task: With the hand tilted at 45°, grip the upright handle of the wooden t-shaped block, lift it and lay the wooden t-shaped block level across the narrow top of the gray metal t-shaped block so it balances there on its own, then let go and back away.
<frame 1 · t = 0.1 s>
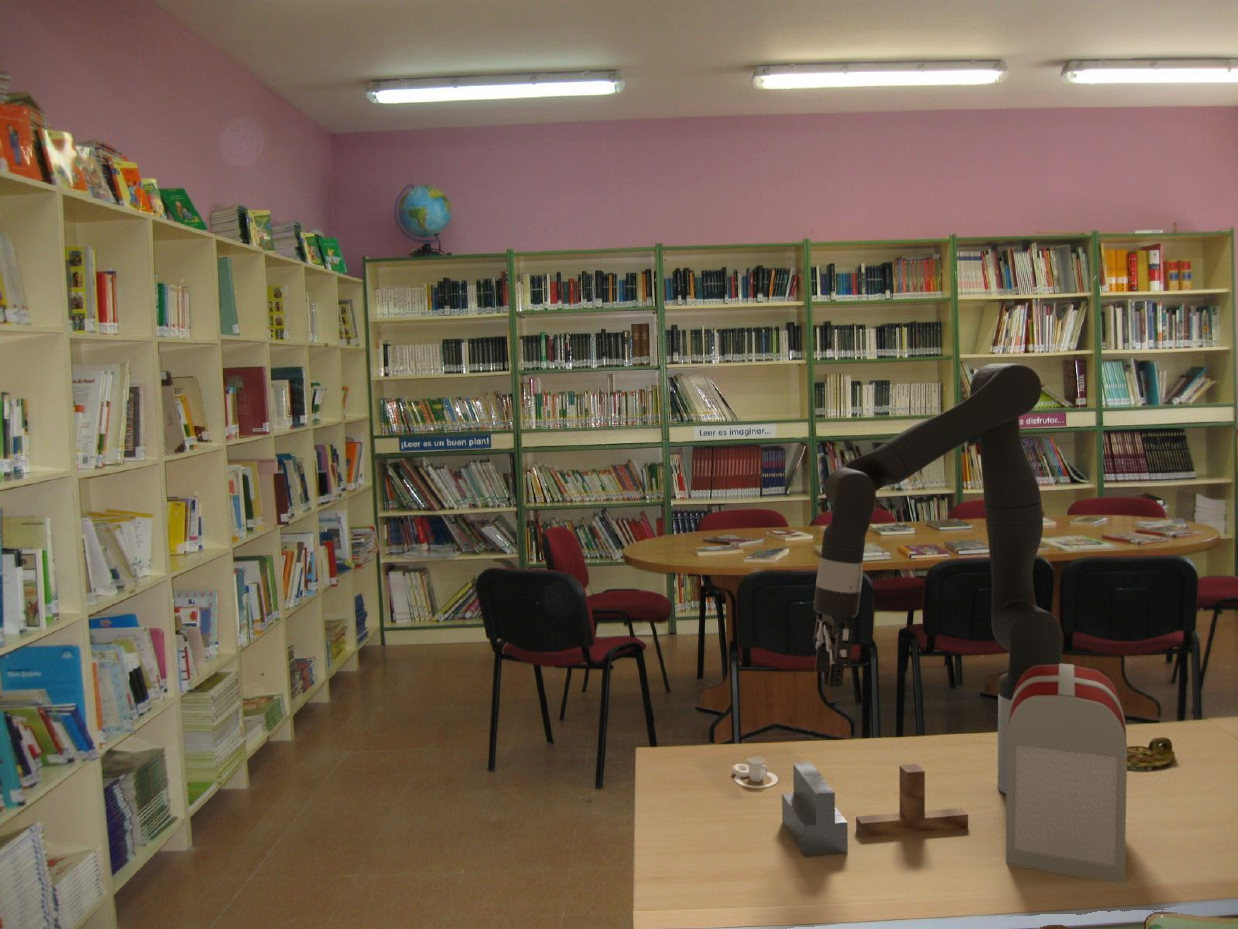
hand: (827, 679, 171), 22 cm above the table, tool pointing down, fingers open, 8 cm apart
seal: (1137, 763, 188), on the table
gray metal t-shaped block: (813, 837, 161), on the table
teacup and saucer: (759, 776, 187), on the table
red-striped tombstone block: (1064, 848, 156), on the table
wooden t-shaped block: (912, 830, 163), on the table
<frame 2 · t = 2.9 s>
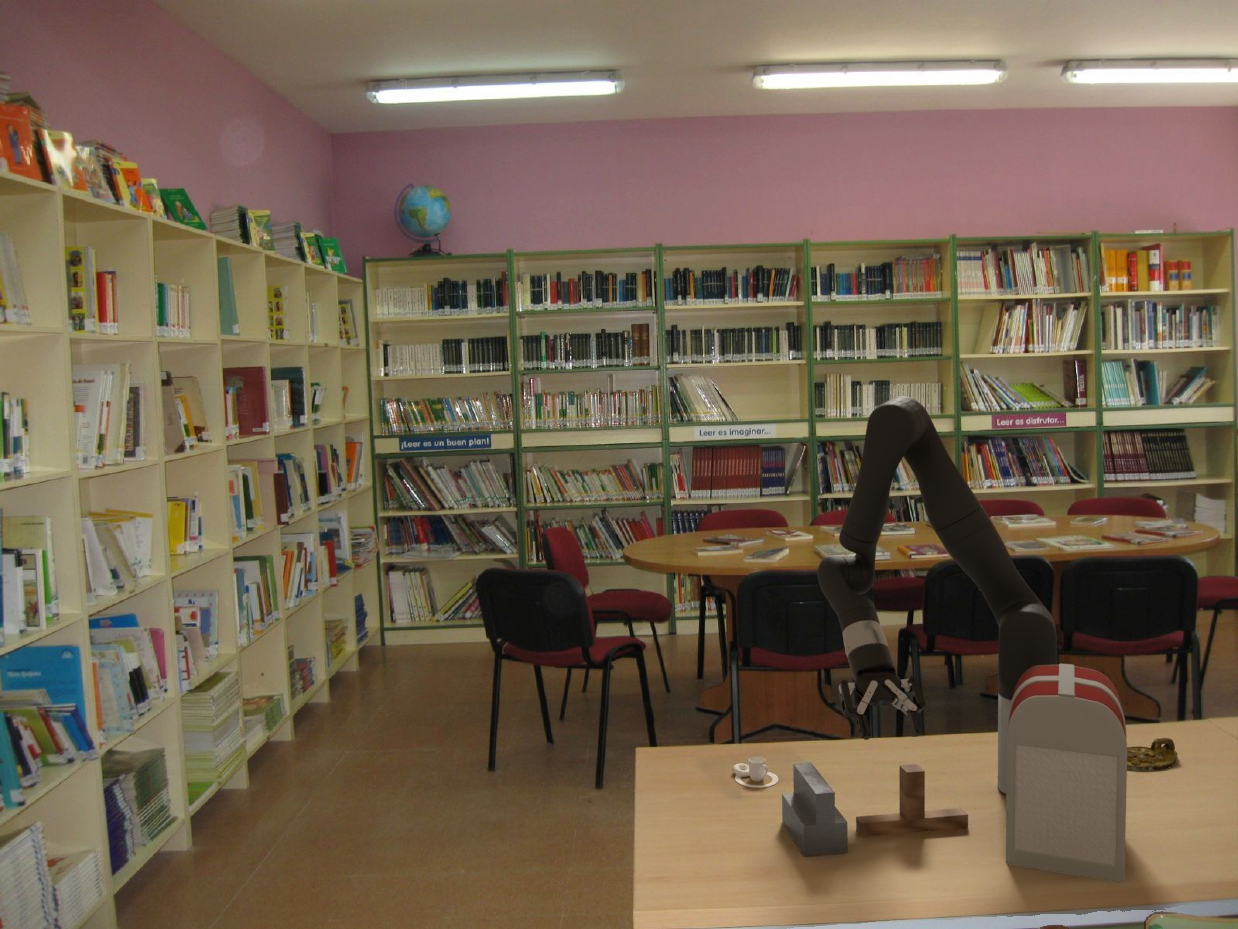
hand: (892, 736, 170), 13 cm above the table, tool tilted 45°, fingers open, 8 cm apart
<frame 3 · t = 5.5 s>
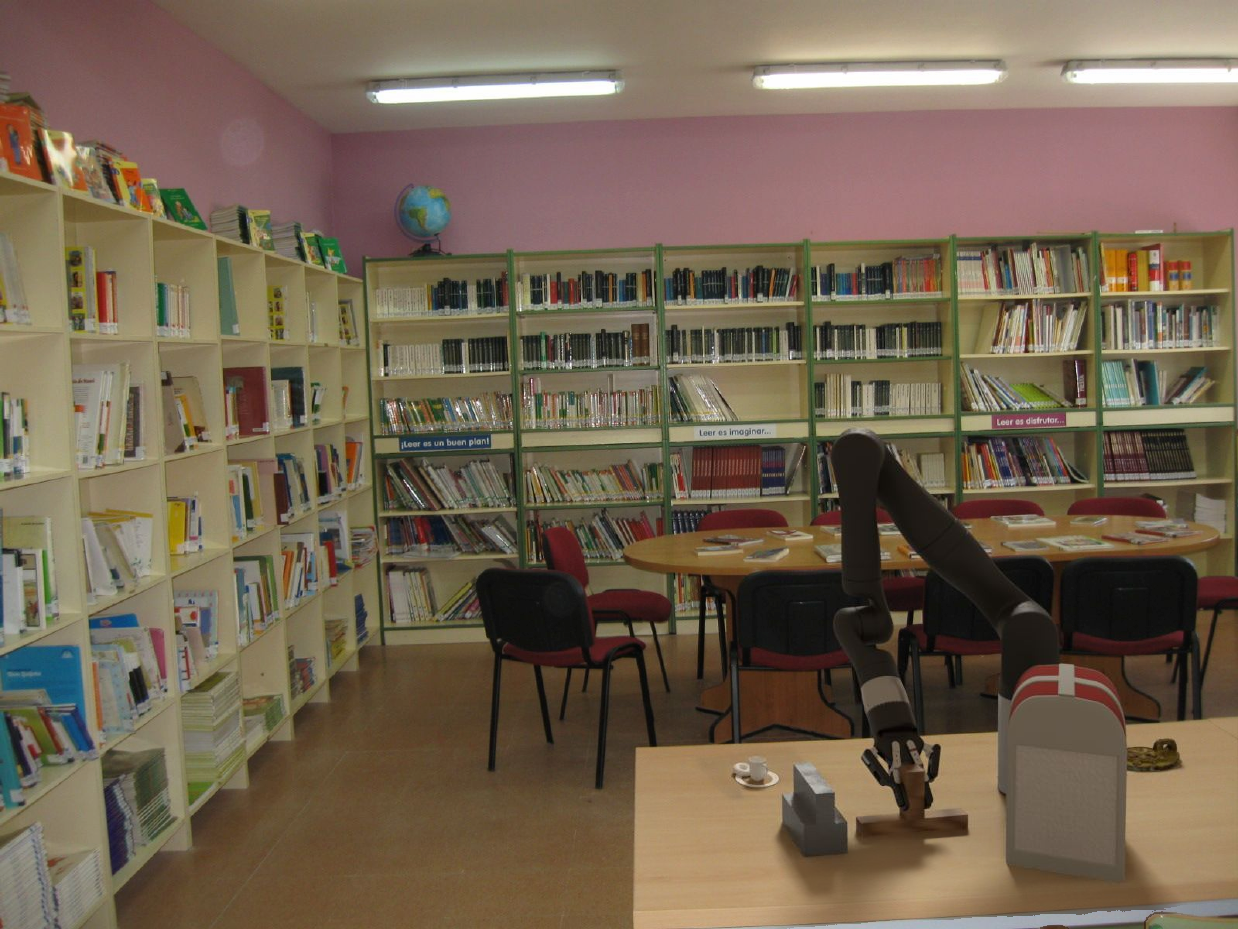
hand: (917, 807, 161), 4 cm above the table, tool tilted 45°, fingers closed on wooden t-shaped block, 3 cm apart
wooden t-shaped block: (911, 830, 163), on the table, touching gripper
everything else where it was.
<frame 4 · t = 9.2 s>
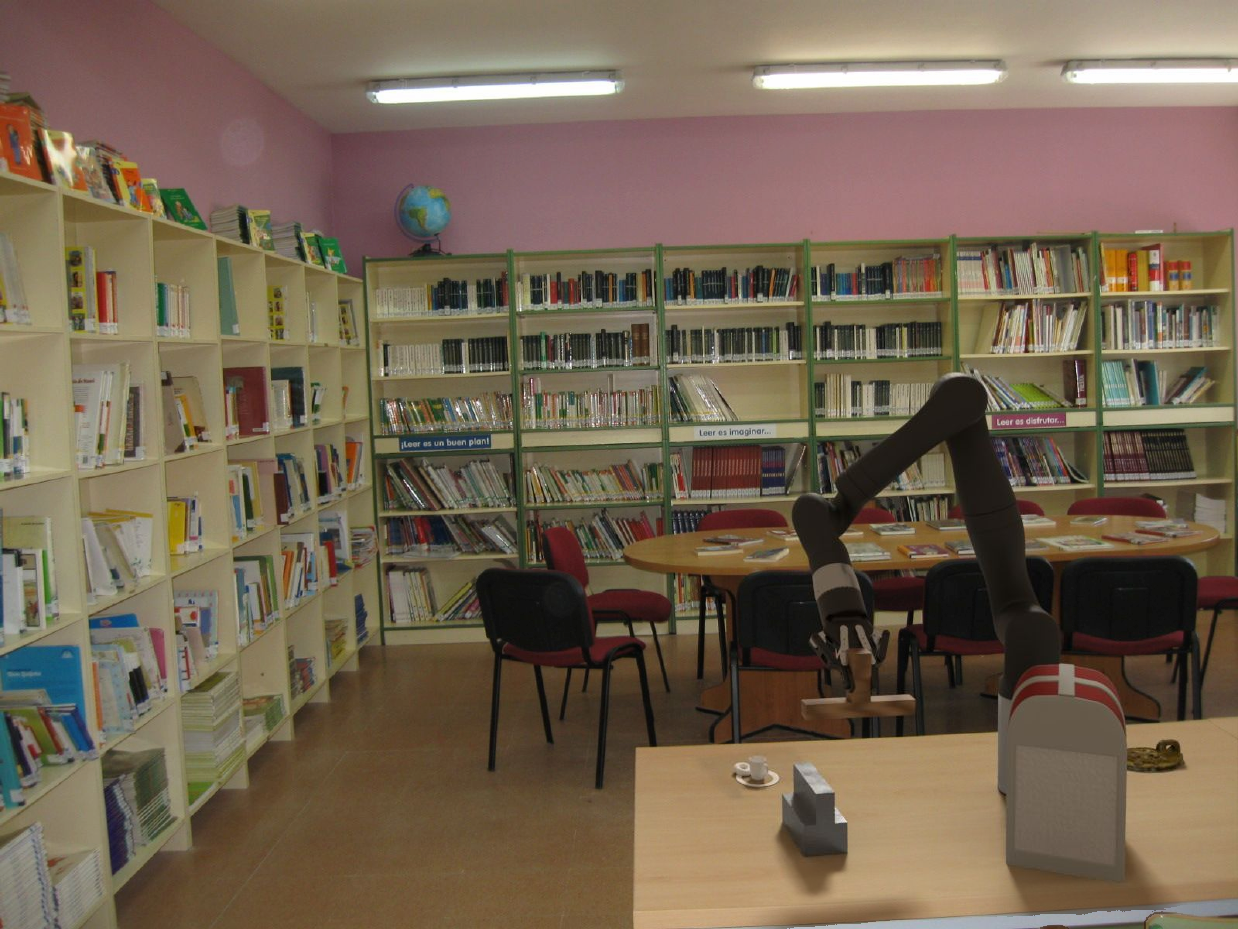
hand: (863, 689, 158), 24 cm above the table, tool tilted 45°, fingers closed on wooden t-shaped block, 3 cm apart
wooden t-shaped block: (858, 714, 161), point 20 cm above the table, touching gripper
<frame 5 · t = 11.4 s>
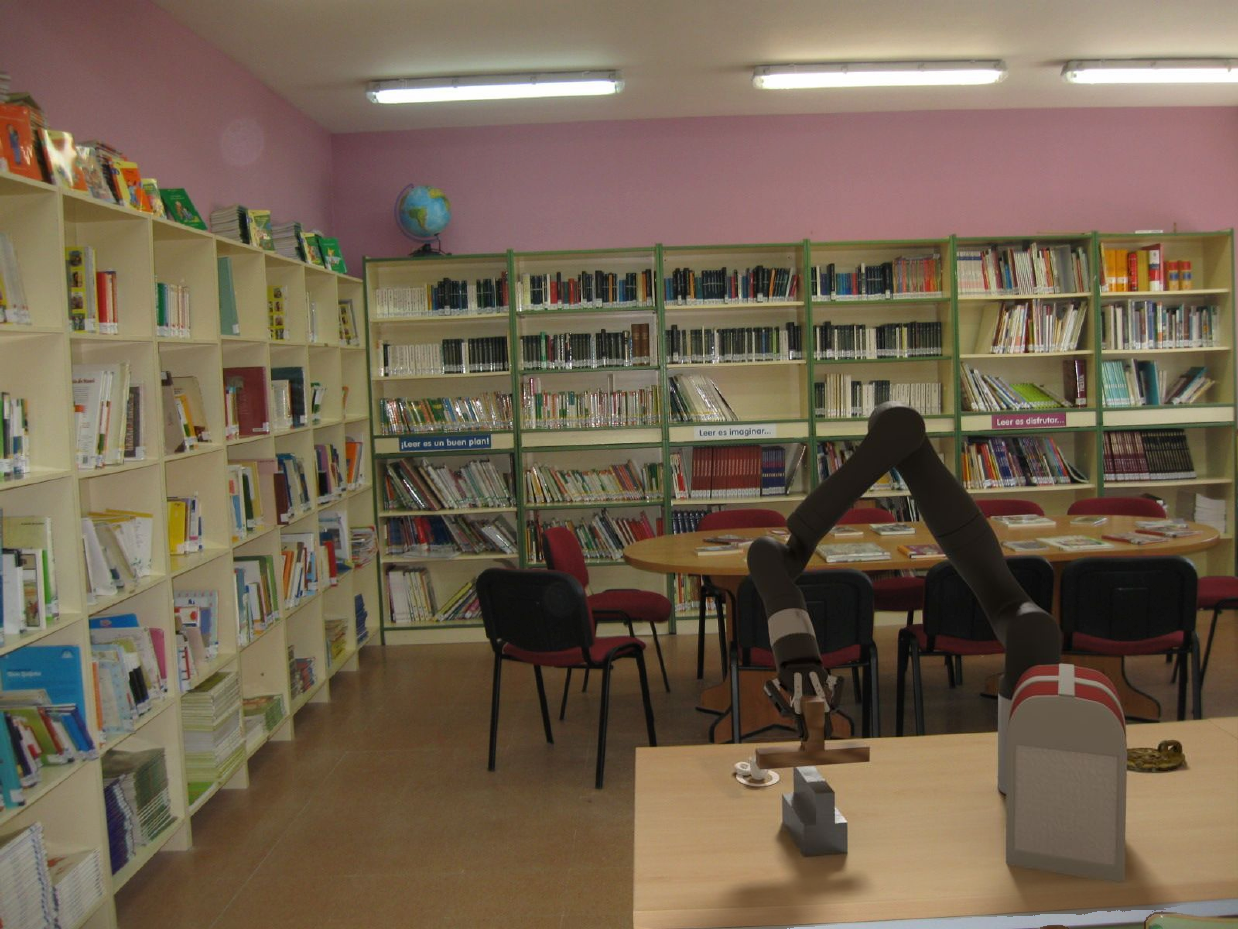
hand: (816, 738, 158), 17 cm above the table, tool tilted 45°, fingers closed on wooden t-shaped block, 3 cm apart
wooden t-shaped block: (812, 762, 160), point 12 cm above the table, touching gripper
when the fingers open (15 cm above the table, at t = 12.9 s): wooden t-shaped block stays where it is, resting on gray metal t-shaped block.
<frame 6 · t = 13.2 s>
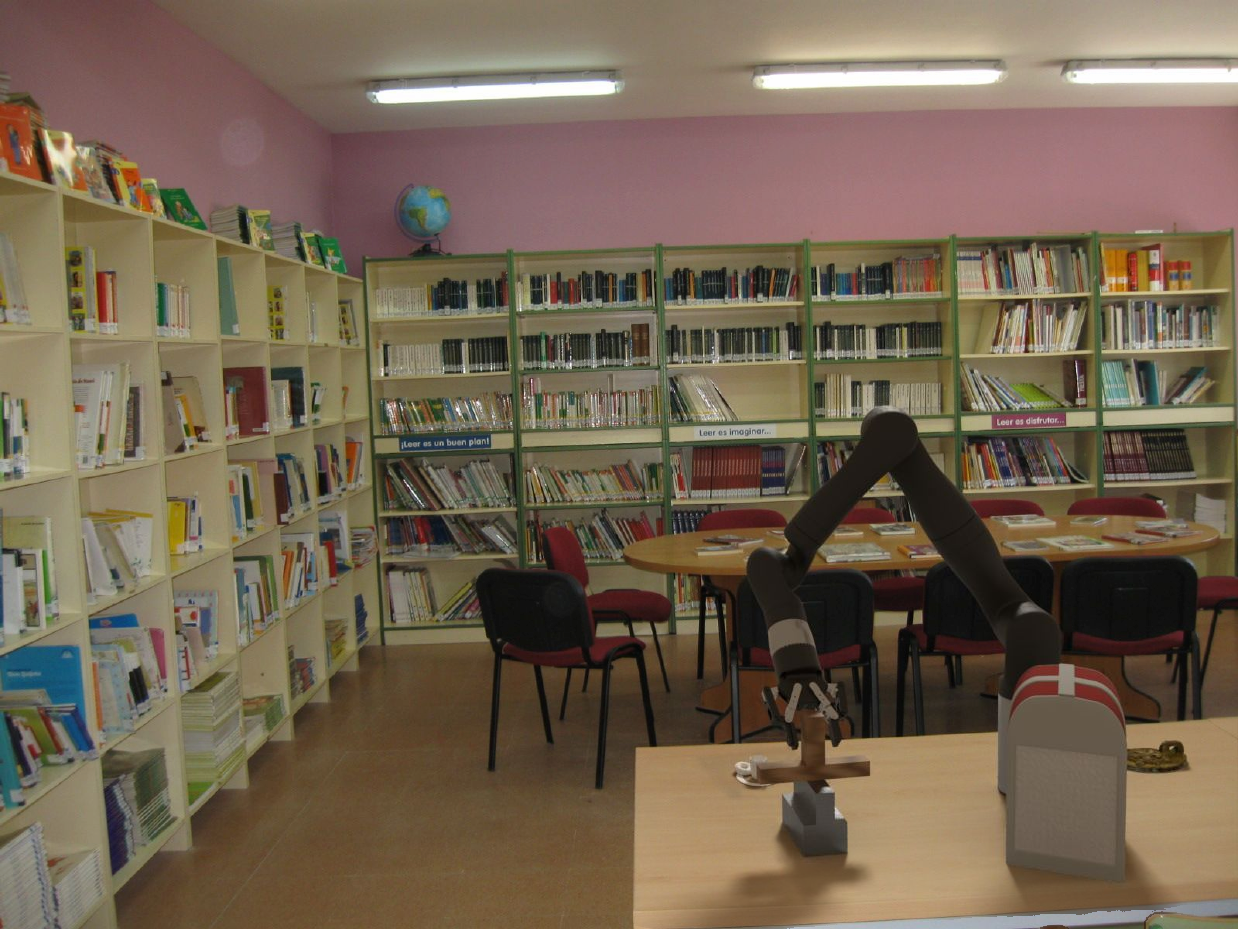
hand: (816, 746, 158), 16 cm above the table, tool tilted 45°, fingers open, 6 cm apart
wooden t-shaped block: (813, 777, 160), point 10 cm above the table, touching gray metal t-shaped block
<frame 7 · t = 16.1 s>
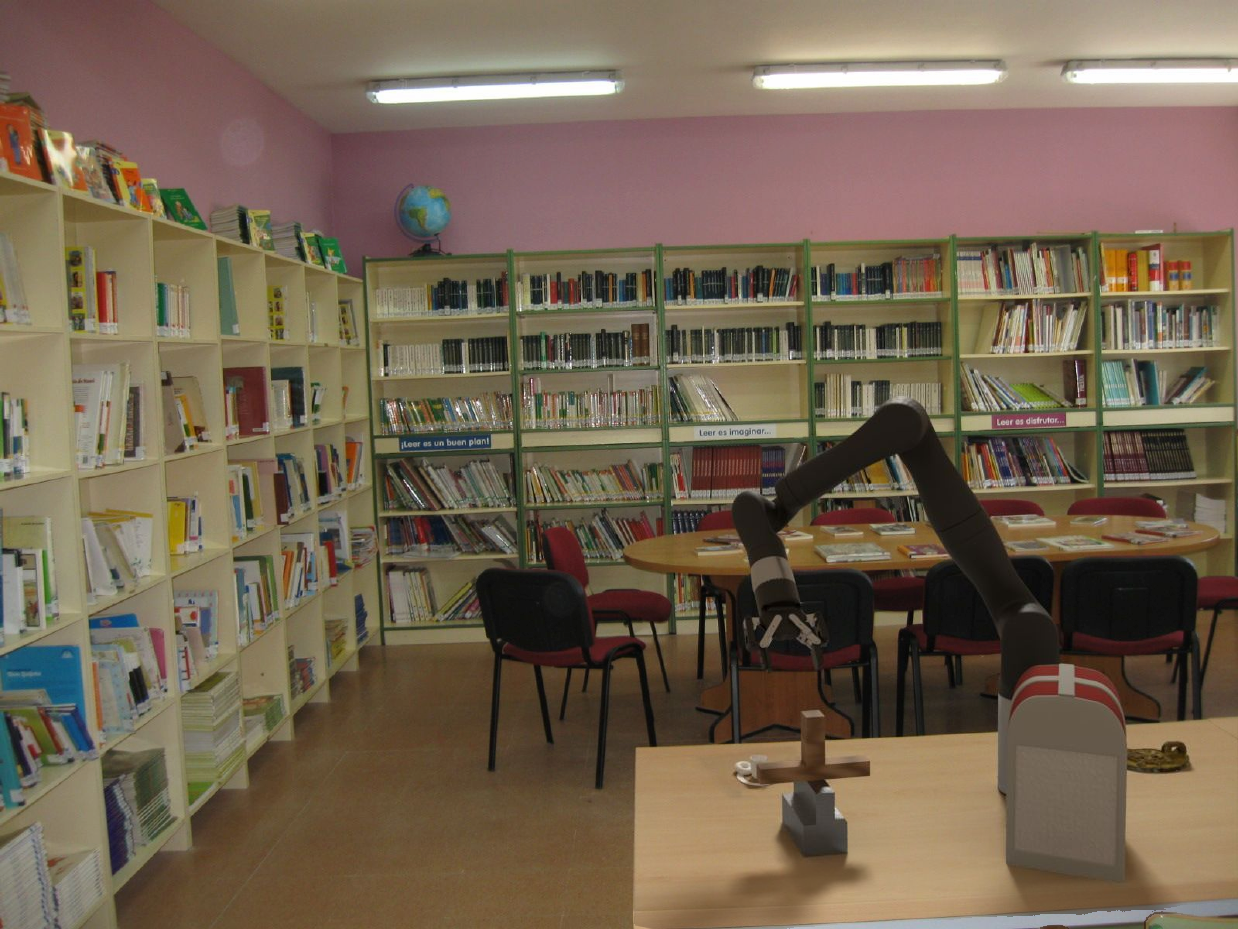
hand: (794, 669, 169), 25 cm above the table, tool tilted 45°, fingers open, 8 cm apart
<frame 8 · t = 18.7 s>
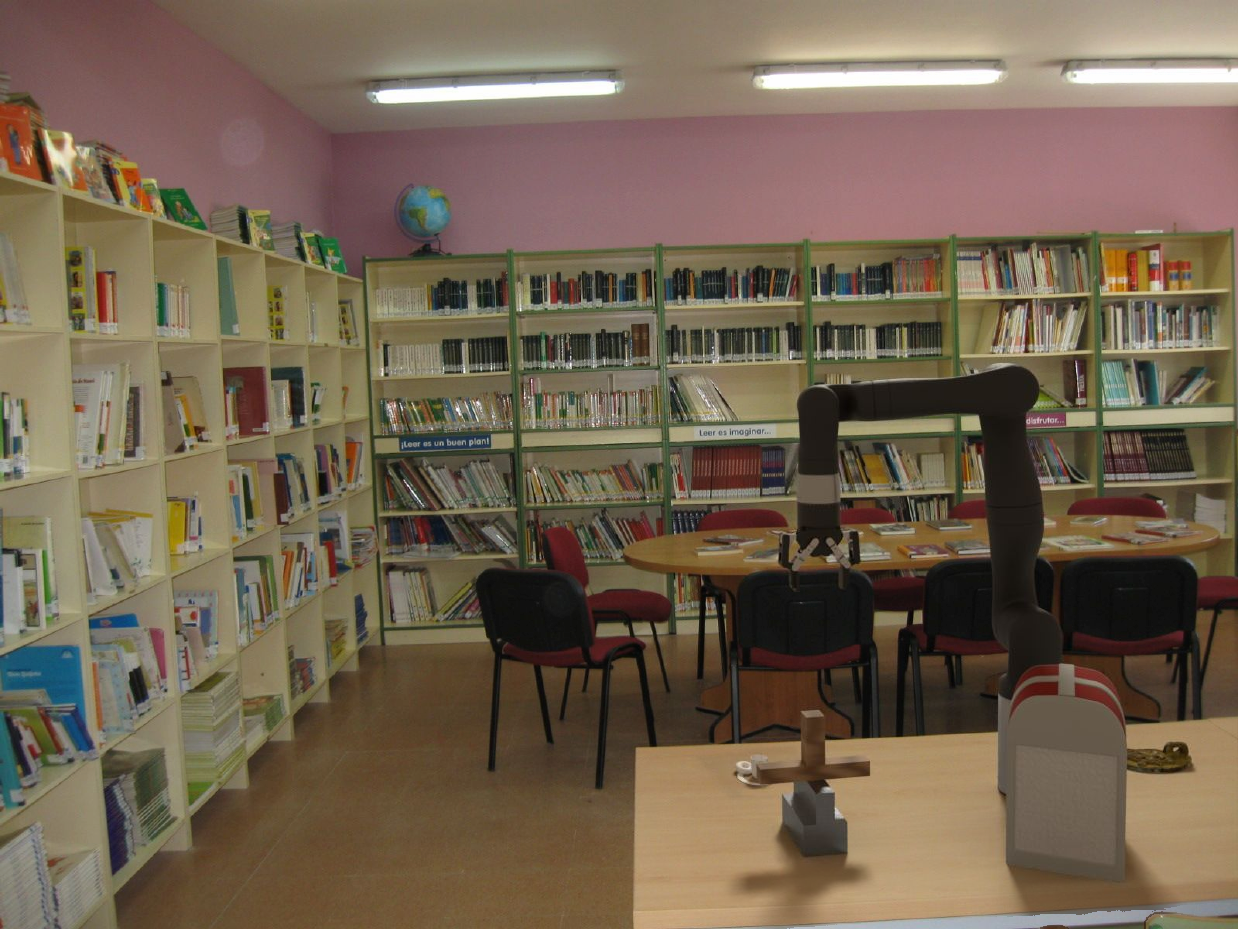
hand: (819, 589, 177), 36 cm above the table, tool pointing down, fingers open, 8 cm apart
at the end: wooden t-shaped block 0.0 cm off-centre on the gray metal t-shaped block, point 10.0 cm above the gray metal t-shaped block's base; wooden t-shaped block tilted 0°; the gripper is holding nothing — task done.
